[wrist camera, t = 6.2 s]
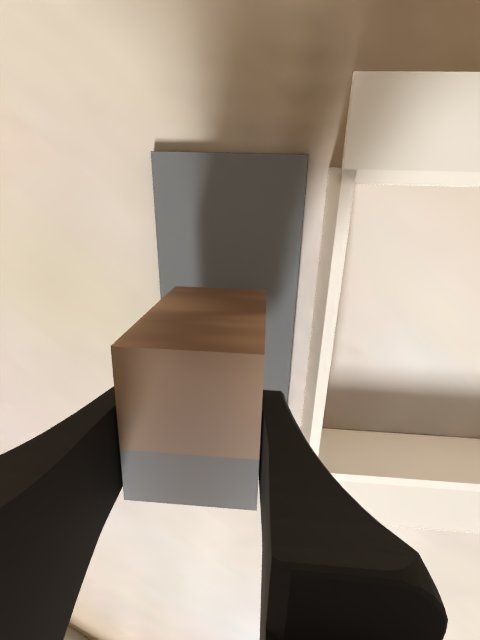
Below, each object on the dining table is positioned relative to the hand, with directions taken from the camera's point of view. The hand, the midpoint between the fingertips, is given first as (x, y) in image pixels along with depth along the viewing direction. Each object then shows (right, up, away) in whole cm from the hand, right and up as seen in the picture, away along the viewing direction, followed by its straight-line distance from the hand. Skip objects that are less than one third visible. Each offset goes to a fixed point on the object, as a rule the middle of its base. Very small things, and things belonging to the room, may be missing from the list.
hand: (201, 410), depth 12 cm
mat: (+1, +3, +8) cm, 8 cm away
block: (0, +2, +5) cm, 5 cm away
